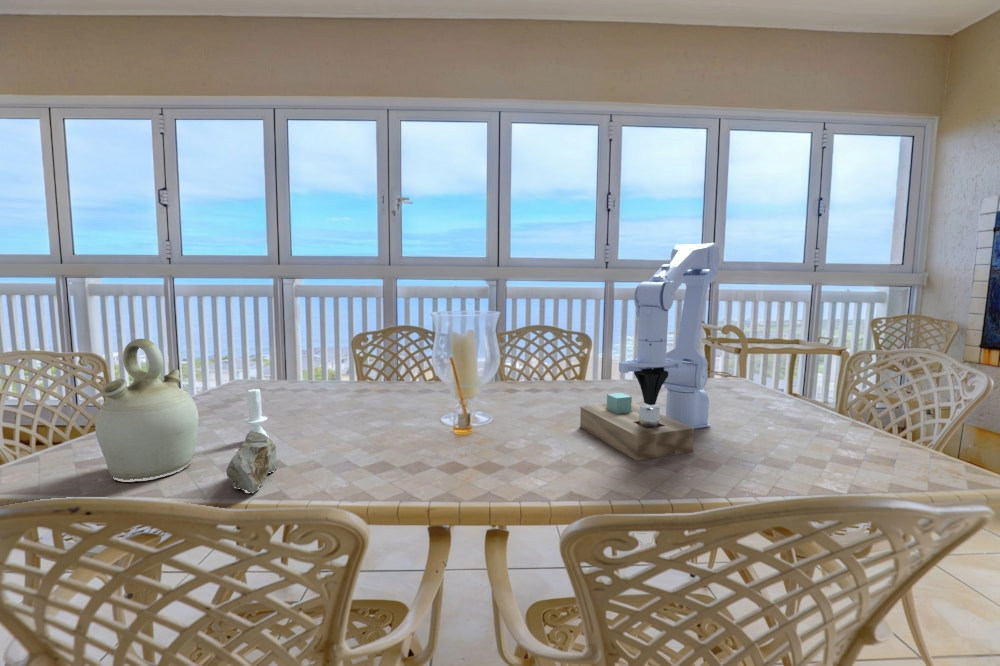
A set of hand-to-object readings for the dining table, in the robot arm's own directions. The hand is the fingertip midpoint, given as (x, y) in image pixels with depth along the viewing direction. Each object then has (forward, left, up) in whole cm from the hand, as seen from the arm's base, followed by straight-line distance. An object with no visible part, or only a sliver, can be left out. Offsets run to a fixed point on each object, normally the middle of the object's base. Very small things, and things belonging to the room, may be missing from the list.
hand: (649, 403), depth 98 cm
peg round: (0, 0, -6) cm, 6 cm away
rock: (+77, -10, -10) cm, 78 cm away
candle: (+79, -34, -10) cm, 86 cm away
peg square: (0, -11, -6) cm, 12 cm away
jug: (+95, -23, -10) cm, 98 cm away
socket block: (0, -6, -9) cm, 11 cm away
